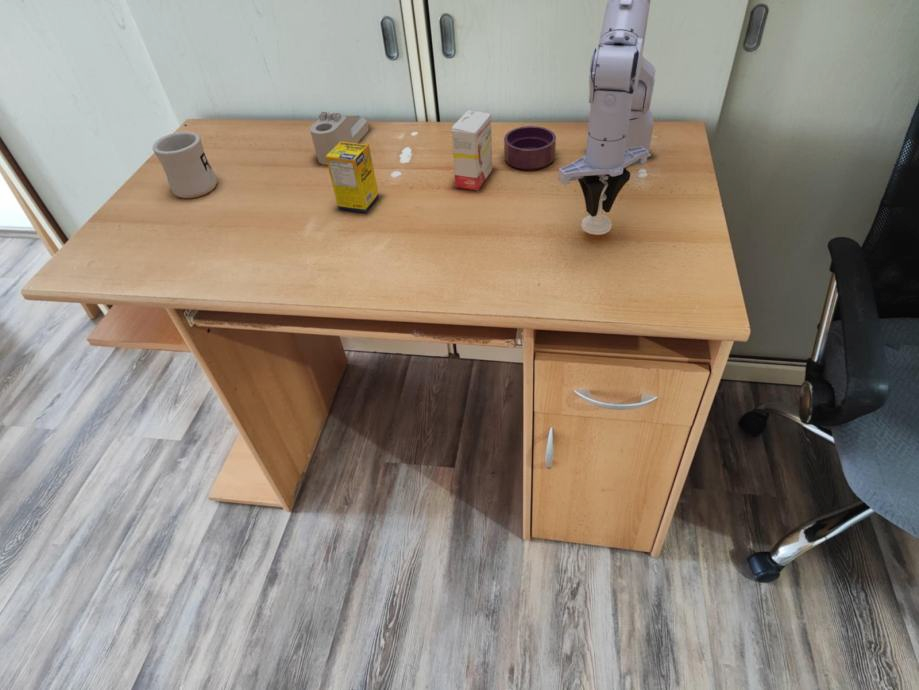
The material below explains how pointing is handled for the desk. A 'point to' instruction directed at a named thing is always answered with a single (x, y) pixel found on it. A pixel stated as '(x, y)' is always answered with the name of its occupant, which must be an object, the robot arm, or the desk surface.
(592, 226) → the chess piece
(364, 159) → the supplement box
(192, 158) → the mug
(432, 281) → the desk surface
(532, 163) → the bowl
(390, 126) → the desk surface
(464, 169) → the ink box
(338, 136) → the angled bracket with hole
